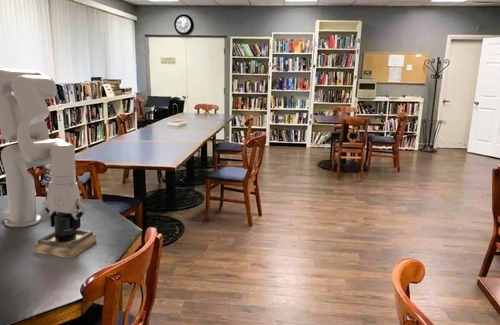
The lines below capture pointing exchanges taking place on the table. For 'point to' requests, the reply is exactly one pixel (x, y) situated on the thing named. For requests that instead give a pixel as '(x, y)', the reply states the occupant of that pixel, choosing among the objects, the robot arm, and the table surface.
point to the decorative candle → (47, 177)
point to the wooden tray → (65, 244)
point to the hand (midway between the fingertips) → (65, 227)
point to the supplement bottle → (64, 227)
